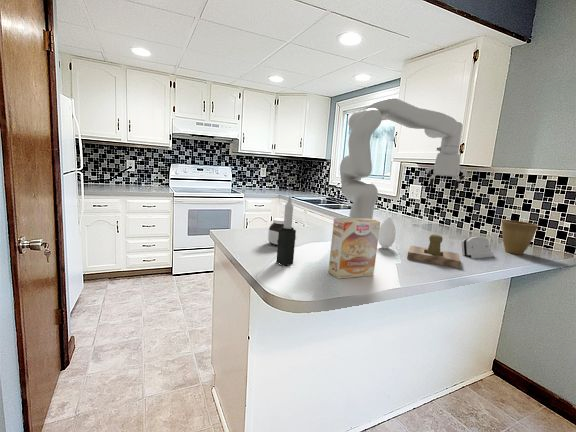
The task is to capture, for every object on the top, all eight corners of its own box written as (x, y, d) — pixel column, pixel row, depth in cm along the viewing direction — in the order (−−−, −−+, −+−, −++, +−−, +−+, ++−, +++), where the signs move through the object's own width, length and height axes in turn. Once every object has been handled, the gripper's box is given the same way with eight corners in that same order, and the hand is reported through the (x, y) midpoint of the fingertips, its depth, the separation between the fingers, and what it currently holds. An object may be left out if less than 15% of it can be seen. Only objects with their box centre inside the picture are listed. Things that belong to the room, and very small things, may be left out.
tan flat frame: (407, 258, 136) (408, 251, 136) (409, 251, 149) (410, 245, 148) (459, 268, 128) (460, 261, 127) (457, 259, 140) (458, 253, 140)
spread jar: (266, 245, 139) (267, 219, 138) (271, 239, 150) (273, 215, 149) (292, 248, 138) (295, 222, 136) (296, 242, 149) (298, 218, 147)
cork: (437, 258, 141) (441, 234, 139) (442, 262, 135) (446, 237, 133) (423, 256, 141) (426, 232, 139) (427, 260, 135) (431, 235, 134)
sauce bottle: (375, 245, 156) (380, 209, 153) (391, 247, 155) (396, 210, 152) (377, 249, 148) (382, 211, 145) (395, 251, 147) (400, 213, 144)
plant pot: (538, 256, 158) (545, 225, 155) (515, 256, 154) (522, 224, 152) (511, 248, 172) (517, 219, 170) (489, 248, 168) (495, 219, 166)
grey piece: (472, 258, 145) (468, 236, 146) (462, 258, 149) (459, 237, 151) (494, 256, 152) (491, 235, 154) (484, 256, 156) (481, 236, 158)
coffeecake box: (338, 279, 105) (344, 221, 102) (327, 271, 111) (332, 217, 108) (374, 275, 111) (381, 221, 108) (362, 269, 117) (368, 217, 114)
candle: (284, 260, 121) (290, 195, 117) (294, 263, 117) (300, 197, 113) (275, 262, 117) (279, 195, 113) (284, 266, 114) (289, 197, 110)
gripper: (427, 149, 141) (422, 187, 144) (472, 151, 134) (465, 191, 137) (428, 150, 148) (423, 186, 151) (470, 152, 141) (463, 190, 144)
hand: (443, 188), depth 144 cm, fingers open, 9 cm apart
